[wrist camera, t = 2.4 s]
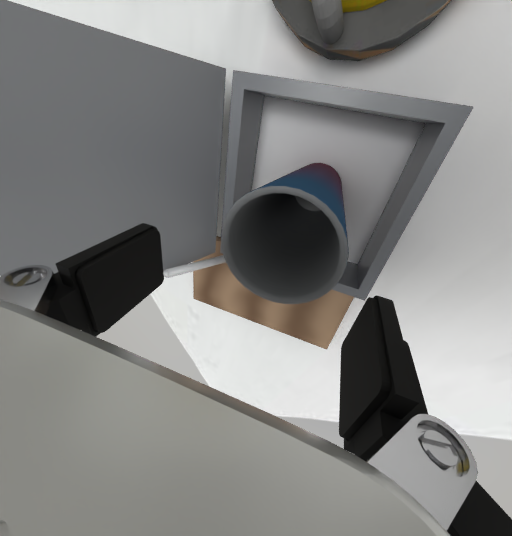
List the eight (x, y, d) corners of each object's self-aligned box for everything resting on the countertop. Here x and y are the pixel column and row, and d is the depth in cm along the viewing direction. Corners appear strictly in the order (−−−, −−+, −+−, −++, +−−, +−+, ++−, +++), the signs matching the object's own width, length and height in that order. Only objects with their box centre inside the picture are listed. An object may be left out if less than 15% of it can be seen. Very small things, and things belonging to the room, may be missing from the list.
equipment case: (447, 110, 18) (551, 95, 9) (363, 274, 27) (368, 355, 18) (231, 76, 22) (137, 39, 12) (221, 230, 31) (161, 278, 21)
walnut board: (359, 281, 28) (359, 285, 27) (327, 344, 34) (326, 349, 34) (197, 230, 32) (193, 232, 31) (196, 294, 39) (193, 298, 38)
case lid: (-203, -66, 6) (-197, -57, 7) (32, 328, 15) (26, 318, 16) (225, 68, 17) (214, 67, 18) (215, 252, 26) (208, 247, 27)
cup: (304, 139, 22) (246, 157, 10) (366, 174, 22) (381, 234, 10) (273, 201, 26) (206, 265, 14) (326, 231, 26) (302, 323, 14)
